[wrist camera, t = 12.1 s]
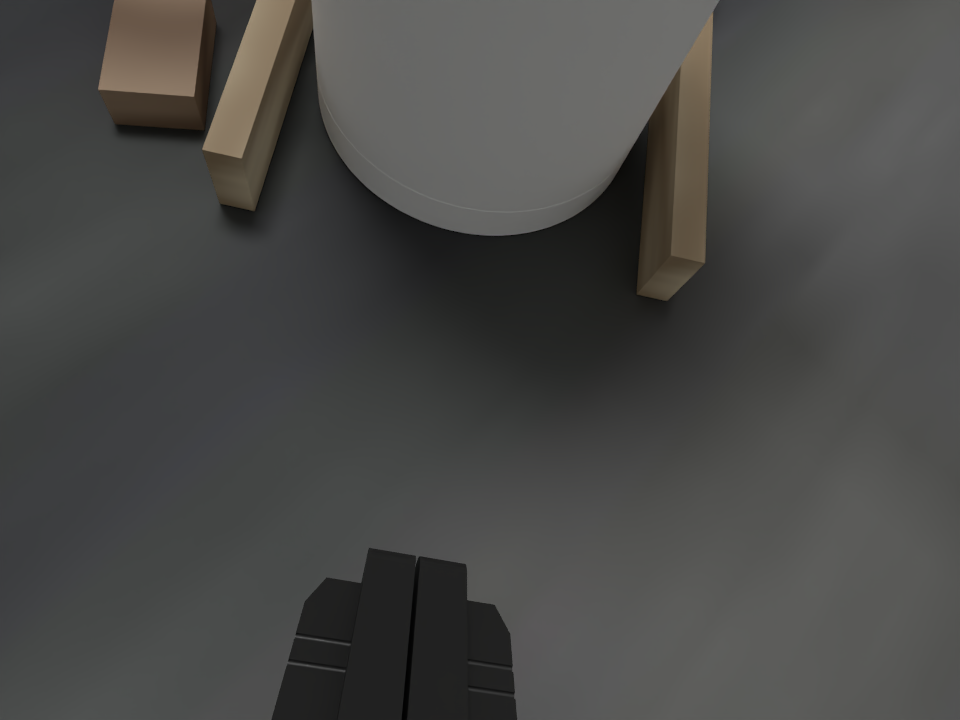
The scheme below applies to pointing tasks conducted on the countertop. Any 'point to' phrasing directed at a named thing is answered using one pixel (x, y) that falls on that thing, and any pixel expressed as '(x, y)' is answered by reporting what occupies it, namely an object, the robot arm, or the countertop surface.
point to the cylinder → (494, 100)
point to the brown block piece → (159, 63)
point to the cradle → (669, 162)
